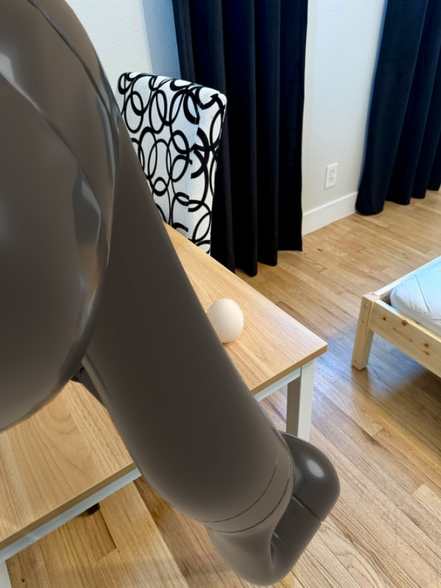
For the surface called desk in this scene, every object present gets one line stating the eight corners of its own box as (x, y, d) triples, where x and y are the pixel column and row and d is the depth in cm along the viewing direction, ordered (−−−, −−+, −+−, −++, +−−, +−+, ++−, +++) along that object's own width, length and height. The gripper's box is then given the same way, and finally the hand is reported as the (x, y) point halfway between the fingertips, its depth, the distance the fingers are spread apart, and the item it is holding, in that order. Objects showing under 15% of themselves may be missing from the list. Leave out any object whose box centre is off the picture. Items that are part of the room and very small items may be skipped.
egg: (200, 331, 70) (198, 294, 66) (234, 321, 72) (234, 285, 67) (214, 356, 66) (212, 319, 61) (250, 344, 68) (250, 308, 63)
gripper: (193, 322, 43) (99, 259, 53) (66, 405, 35) (-17, 313, 45) (197, 372, 48) (110, 305, 58) (86, 456, 40) (7, 362, 50)
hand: (55, 309), depth 51 cm, fingers closed on supplement box, 4 cm apart
